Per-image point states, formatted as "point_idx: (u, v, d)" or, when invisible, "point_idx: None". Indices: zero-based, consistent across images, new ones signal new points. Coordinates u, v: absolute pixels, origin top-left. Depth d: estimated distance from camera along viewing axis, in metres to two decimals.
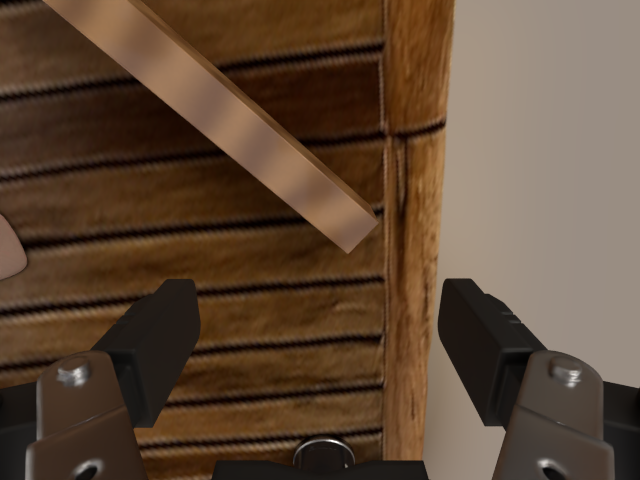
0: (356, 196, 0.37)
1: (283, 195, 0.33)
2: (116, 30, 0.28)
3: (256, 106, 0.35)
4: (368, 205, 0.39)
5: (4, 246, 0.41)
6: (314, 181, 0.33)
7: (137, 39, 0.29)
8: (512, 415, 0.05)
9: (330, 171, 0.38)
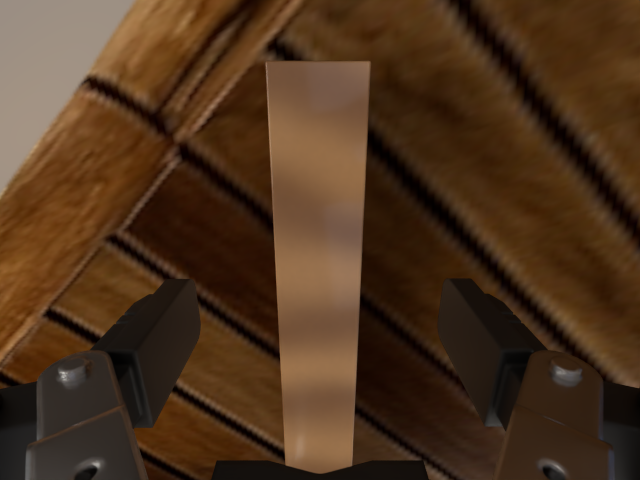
0: None
1: (354, 252, 0.18)
2: None
3: None
4: None
5: None
6: (295, 228, 0.17)
7: None
8: (512, 415, 0.05)
9: None
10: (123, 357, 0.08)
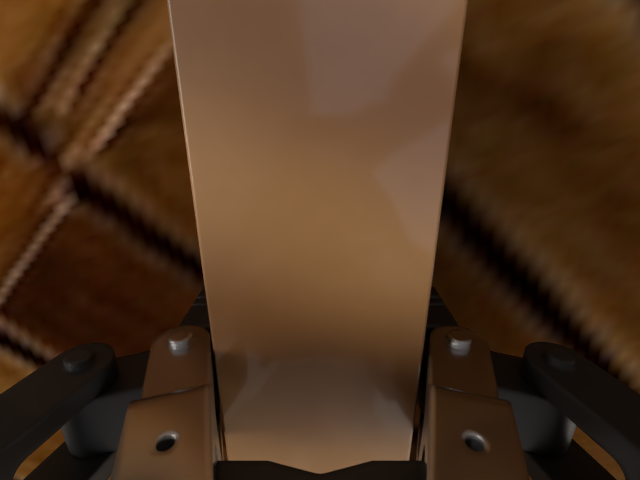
0: None
1: (396, 427, 0.08)
2: None
3: None
4: None
5: None
6: (266, 383, 0.08)
7: None
8: (430, 396, 0.06)
9: None
10: None
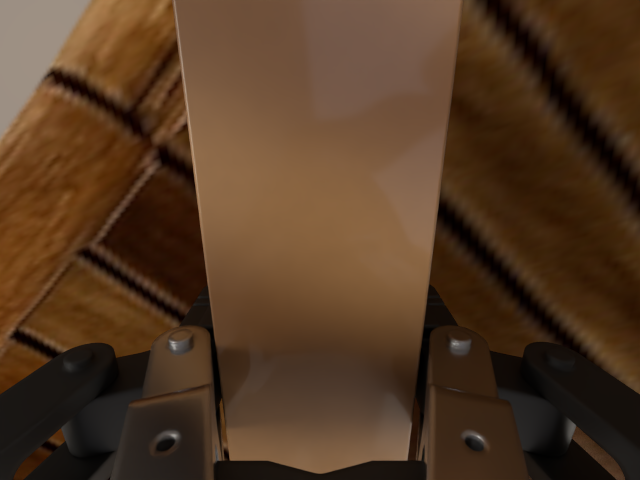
0: None
1: (395, 420, 0.08)
2: None
3: None
4: None
5: None
6: (268, 376, 0.08)
7: None
8: (430, 396, 0.06)
9: None
10: None
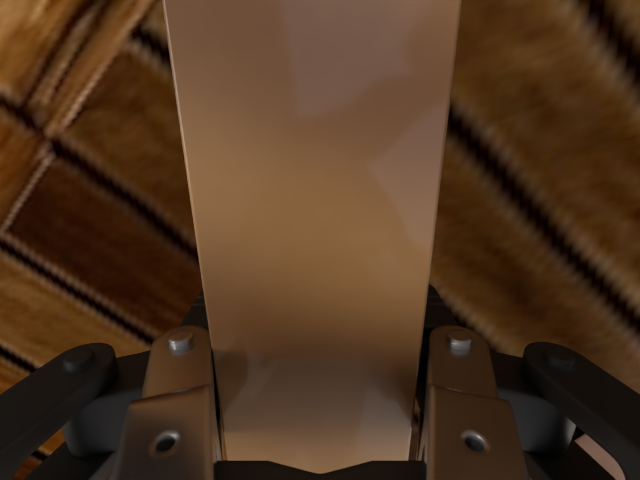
0: None
1: (395, 427, 0.08)
2: None
3: None
4: None
5: (593, 455, 0.28)
6: (265, 383, 0.08)
7: None
8: (430, 396, 0.06)
9: None
10: None
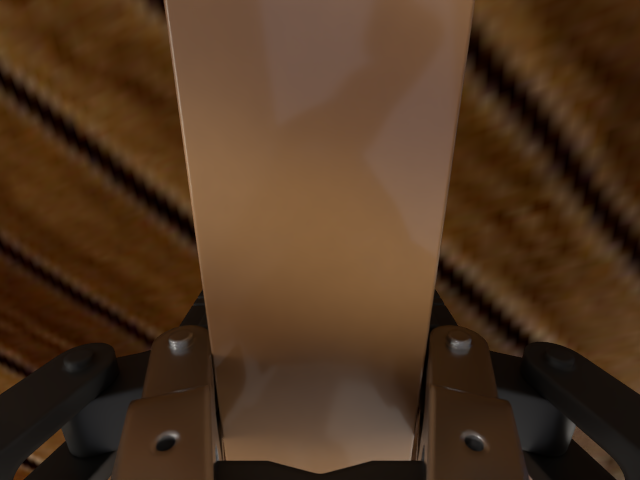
0: None
1: (397, 435, 0.08)
2: None
3: None
4: None
5: None
6: (266, 392, 0.08)
7: None
8: (430, 396, 0.06)
9: None
10: None
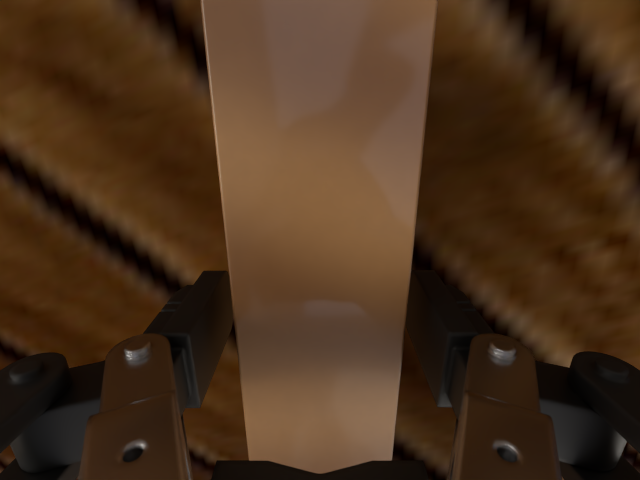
0: None
1: (386, 371, 0.10)
2: None
3: None
4: None
5: None
6: (277, 332, 0.09)
7: None
8: (464, 402, 0.05)
9: None
10: (177, 340, 0.08)
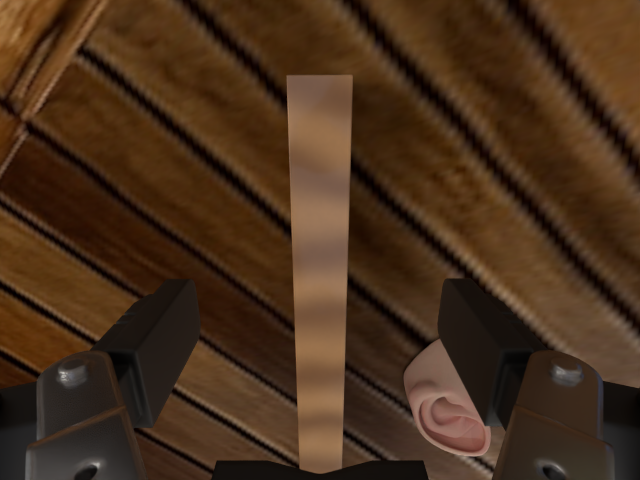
0: None
1: (344, 202, 0.26)
2: (322, 394, 0.33)
3: None
4: None
5: (432, 361, 0.38)
6: (305, 185, 0.26)
7: (316, 381, 0.33)
8: (512, 415, 0.05)
9: None
10: (123, 357, 0.08)
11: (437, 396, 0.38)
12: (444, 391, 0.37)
